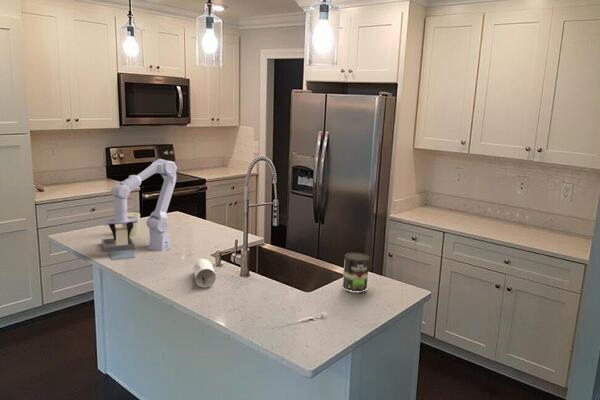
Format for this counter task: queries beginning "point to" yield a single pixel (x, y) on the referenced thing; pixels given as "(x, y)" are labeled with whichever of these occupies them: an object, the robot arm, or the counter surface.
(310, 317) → the fork
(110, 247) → the gray square tray
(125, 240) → the block
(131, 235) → the can
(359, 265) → the coffee can
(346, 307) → the counter surface
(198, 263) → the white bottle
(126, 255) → the mat
